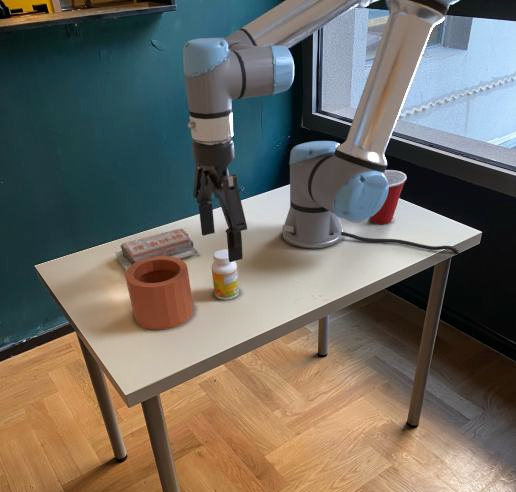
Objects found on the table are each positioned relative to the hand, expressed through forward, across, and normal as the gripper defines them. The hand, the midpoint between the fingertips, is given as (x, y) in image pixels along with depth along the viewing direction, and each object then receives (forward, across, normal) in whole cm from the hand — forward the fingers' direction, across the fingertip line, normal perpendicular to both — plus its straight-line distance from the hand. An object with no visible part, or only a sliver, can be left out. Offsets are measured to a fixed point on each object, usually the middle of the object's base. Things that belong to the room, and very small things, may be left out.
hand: (221, 246), depth 105 cm
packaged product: (+12, -24, -7) cm, 28 cm away
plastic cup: (+11, -12, +52) cm, 55 cm away
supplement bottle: (+12, 0, 0) cm, 12 cm away
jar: (+12, 0, -14) cm, 18 cm away
